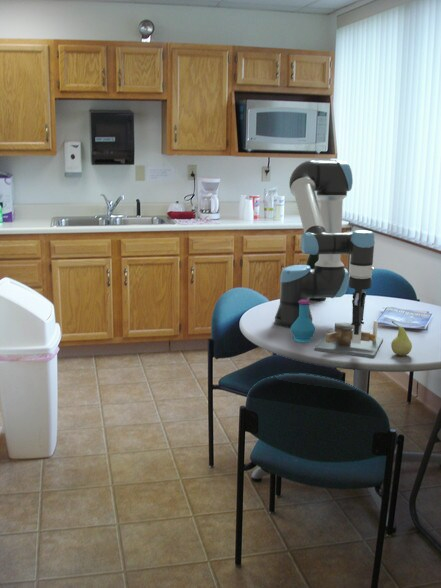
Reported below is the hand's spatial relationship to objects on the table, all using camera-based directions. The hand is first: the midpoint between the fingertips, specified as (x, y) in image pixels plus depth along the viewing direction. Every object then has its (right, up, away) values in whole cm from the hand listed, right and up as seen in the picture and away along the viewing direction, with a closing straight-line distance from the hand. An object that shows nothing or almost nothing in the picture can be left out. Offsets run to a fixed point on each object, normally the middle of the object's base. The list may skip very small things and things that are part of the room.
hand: (356, 342), depth 237 cm
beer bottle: (-3, +15, +80) cm, 81 cm away
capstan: (0, -1, +7) cm, 7 cm away
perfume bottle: (-17, 0, +17) cm, 24 cm away
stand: (0, -2, +11) cm, 11 cm away
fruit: (+15, -5, +1) cm, 16 cm away
